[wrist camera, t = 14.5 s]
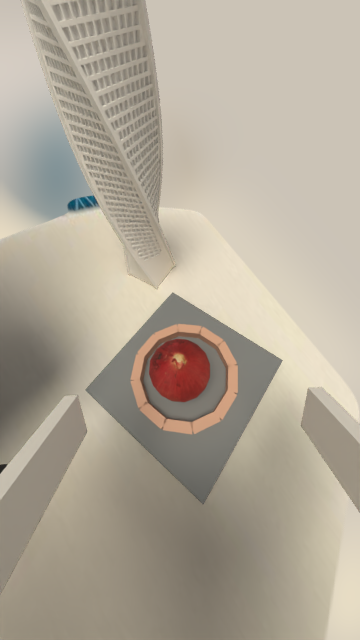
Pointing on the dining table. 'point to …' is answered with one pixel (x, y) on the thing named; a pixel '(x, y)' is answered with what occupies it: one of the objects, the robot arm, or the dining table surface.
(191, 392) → the red rounded fruit
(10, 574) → the robot arm
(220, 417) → the dock
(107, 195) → the skyscraper
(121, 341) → the dining table surface
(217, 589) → the dining table surface
